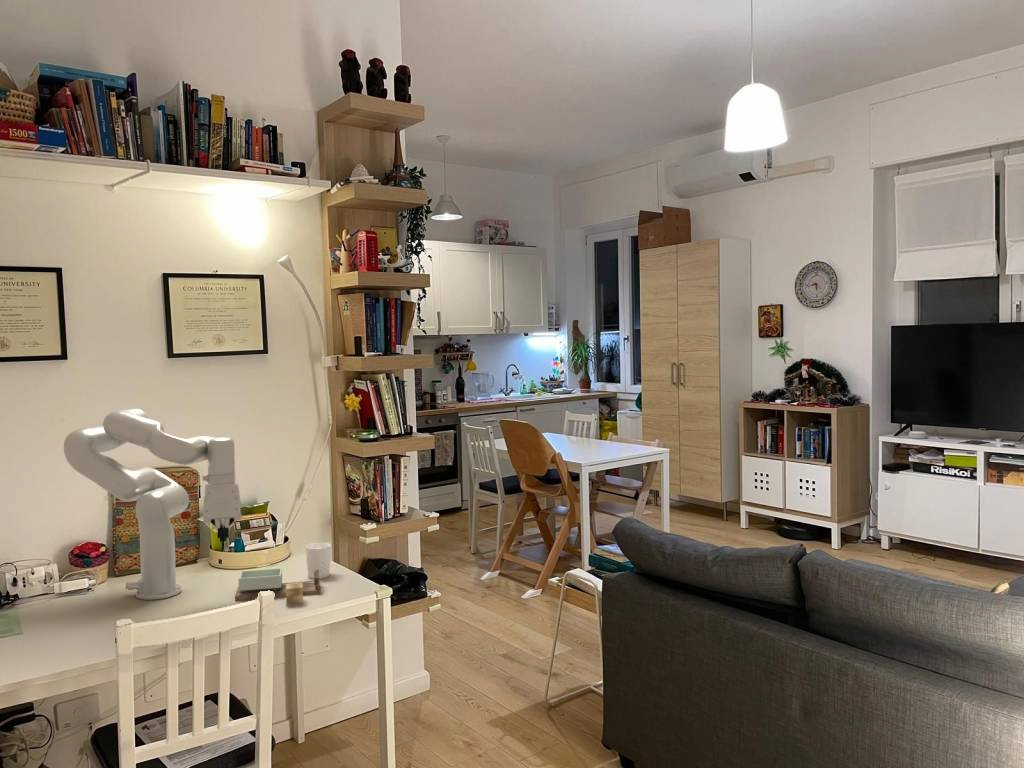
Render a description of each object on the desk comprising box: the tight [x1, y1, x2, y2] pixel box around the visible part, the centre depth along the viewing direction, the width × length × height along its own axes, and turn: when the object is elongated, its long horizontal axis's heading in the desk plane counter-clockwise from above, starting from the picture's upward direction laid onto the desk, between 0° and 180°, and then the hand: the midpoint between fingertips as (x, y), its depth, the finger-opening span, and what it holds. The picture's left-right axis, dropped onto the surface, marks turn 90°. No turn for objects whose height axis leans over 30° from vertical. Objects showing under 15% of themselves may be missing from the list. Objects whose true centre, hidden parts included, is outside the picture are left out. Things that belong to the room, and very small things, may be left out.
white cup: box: [305, 542, 332, 580], centre depth 251 cm, size 8×8×10 cm
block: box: [285, 583, 304, 607], centre depth 225 cm, size 4×4×5 cm
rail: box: [234, 569, 320, 602], centre depth 234 cm, size 24×10×5 cm, turn 104°
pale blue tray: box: [238, 567, 283, 594], centre depth 233 cm, size 12×8×5 cm, turn 104°
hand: (223, 540), depth 230 cm, fingers closed
